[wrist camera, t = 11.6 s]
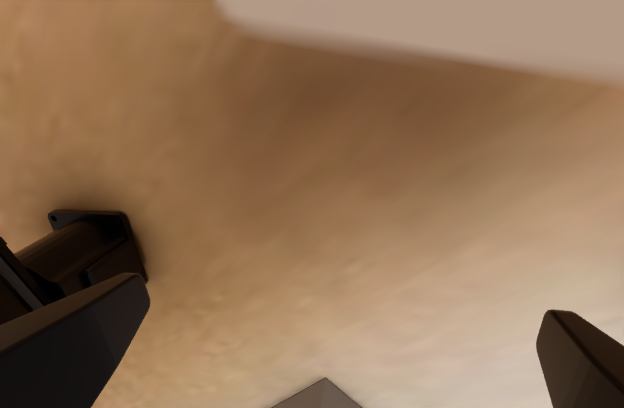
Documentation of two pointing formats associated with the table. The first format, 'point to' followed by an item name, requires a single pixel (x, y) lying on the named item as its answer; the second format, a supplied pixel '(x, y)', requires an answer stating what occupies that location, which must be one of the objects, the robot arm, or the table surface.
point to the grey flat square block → (319, 397)
